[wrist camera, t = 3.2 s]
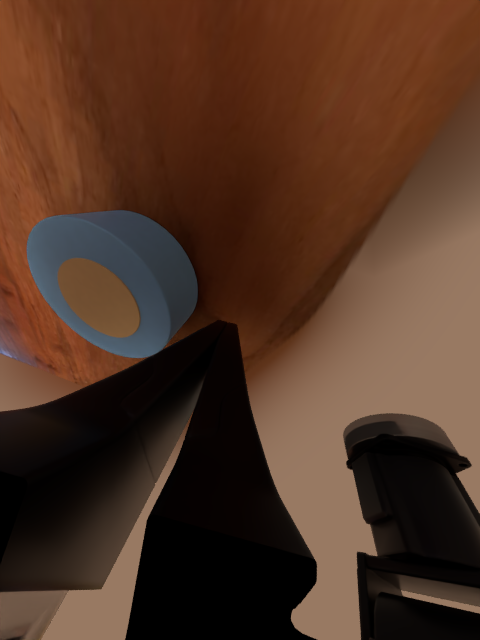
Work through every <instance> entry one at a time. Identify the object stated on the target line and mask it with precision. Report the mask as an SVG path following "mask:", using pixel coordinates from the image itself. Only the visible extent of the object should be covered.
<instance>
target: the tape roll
mask: <svg viewBox="0 0 480 640" xmlns="http://www.w3.org/2000/svg"><path fill="white" fill-rule="evenodd" d="M27 259H28V263H29V267H30V270H31V273H32V276H33V278H34V280H35V283H36V285H37V287H38V288H39V290H40V292H41V294H42V295H43V297H44V298H45V300H46V301H47V302H48V304H49V305H50V306H51V308H52V309H53V310H54V311H55V312H56V314H57V315H58V316H59V317H60V318H61V319H62V320H63V321H64V322H65V323H66V324H67V325H68V326H69V327H71V328H72V329H73V330H74V331H75V332H77V333H78V334H79V335H80V336H82V337H83V338H85V339H86V340H87V341H89V342H91V343H92V344H94V345H96V346H98V347H100V348H102V349H104V350H106V351H108V352H111V353H113V354H116V355H120V356H124V357H130V358H144V357H148V356H151V355H154V354H156V353H158V352H159V351H161V350H162V349H163V348H164V347H165V346H166V345H167V343H168V342H169V341H170V340H171V339H172V337H173V336H174V335H175V334H176V333H177V331H178V330H179V329H180V328H181V327H182V326H183V324H184V323H185V322H186V321H187V320H188V318H189V317H190V316H191V314H192V313H193V311H194V309H195V307H196V303H197V297H198V285H197V279H196V275H195V272H194V269H193V266H192V264H191V262H190V260H189V258H188V256H187V254H186V252H185V251H184V250H183V248H182V247H181V245H180V244H179V243H178V242H177V240H176V239H175V238H174V237H173V236H172V235H171V234H170V233H169V232H168V231H167V230H166V229H165V228H163V227H162V226H161V225H159V224H158V223H156V222H155V221H153V220H151V219H150V218H148V217H146V216H143V215H141V214H139V213H135V212H132V211H125V210H113V211H102V212H91V213H79V214H68V215H57V216H52V217H48V218H45V219H44V220H42V221H40V222H39V223H38V224H37V225H36V226H35V227H33V229H32V231H31V233H30V234H29V238H28V241H27Z"/></svg>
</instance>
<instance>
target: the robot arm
mask: <svg viewBox="0 0 480 640" xmlns="http://www.w3.org/2000/svg"><path fill="white" fill-rule="evenodd" d="M194 408H195V409H194ZM193 410H194V412H193ZM192 412H193V415H192V418H191V421H190V424H189V427H188V430H187V433H186V436H185V440H184V442H183V445H182V448H181V450H180V453H179V456H178V458H177V461H176V463H175V465H174V467H173V469H172V471H171V473H170V475H169V477H168V479H167V481H166V483H165V485H164V487H163V489H162V491H161V493H160V495H159V497H158V499H157V501H156V503H155V505H154V507H153V509H152V511H151V513H150V515H149V517H148V519H147V524H146V529H145V534H144V540H143V546H142V551H141V557H140V562H139V568H138V574H137V579H136V585H135V590H134V596H133V602H132V608H131V613H130V618H129V624H128V629H127V634H126V639H125V640H316V639H314V638H312V637H309V636H307V635H305V634H302V633H301V632H299V631H298V630H297V629H296V628H295V627H294V625H293V623H292V622H291V613H292V610H293V609H295V608H296V607H297V606H298V604H300V603H301V602H302V600H303V599H304V598H305V597H306V595H307V594H308V593H309V591H311V589H312V588H313V586H314V585H315V584H316V580H317V564H316V561H315V559H314V557H313V556H312V554H311V552H310V550H309V548H308V547H307V545H306V543H305V541H304V539H303V538H302V536H301V534H300V532H299V531H298V529H297V527H296V525H295V523H294V522H293V520H292V518H291V516H290V514H289V513H288V511H287V509H286V507H285V506H284V504H283V502H282V500H281V498H280V496H279V494H278V492H277V489H276V487H275V485H274V482H273V479H272V476H271V474H270V470H269V467H268V465H267V461H266V458H265V455H264V451H263V448H262V444H261V441H260V438H259V435H258V432H257V428H256V425H255V421H254V418H253V414H252V410H251V406H250V401H249V396H248V391H247V384H246V379H245V372H244V366H243V359H242V353H241V347H240V340H239V334H238V328H237V325H236V324H233V323H227V322H226V321H222V320H217V321H215V322H213V323H211V324H210V325H208V326H206V327H204V328H202V329H200V330H198V331H197V332H195V333H193V334H191V335H189V336H187V337H186V338H184V339H182V340H180V341H178V342H176V343H174V344H173V345H171V346H169V347H167V348H165V349H163V350H161V351H160V352H158V353H156V354H154V355H153V356H150V357H148V358H146V359H145V360H143V361H141V362H139V363H137V364H135V365H133V366H131V367H129V368H127V369H125V370H123V371H120V372H118V373H116V374H114V375H112V376H110V377H107V378H105V379H103V380H101V381H98V382H96V383H94V384H91V385H89V386H87V387H85V388H82V389H80V390H78V391H75V392H74V393H71V394H69V395H66V396H64V397H62V398H59V399H57V400H54V401H51V402H48V403H46V404H42V405H39V406H35V407H30V408H25V409H18V410H11V411H2V412H0V640H41V639H42V637H43V635H44V633H45V632H46V630H47V628H48V626H49V625H50V623H51V621H52V619H53V617H54V616H55V614H56V612H57V610H58V609H59V607H60V605H61V603H62V601H63V599H64V598H65V596H66V594H67V593H68V591H69V590H94V589H102V587H103V585H104V583H105V581H106V579H107V577H108V575H109V574H110V572H111V570H112V568H113V566H114V564H115V562H116V560H117V558H118V556H119V554H120V552H121V550H122V548H123V546H124V544H125V542H126V540H127V538H128V537H129V535H130V533H131V531H132V529H133V527H134V525H135V523H136V521H137V519H138V517H139V515H140V513H141V511H142V509H143V507H144V505H145V503H146V502H147V500H148V498H149V496H150V494H151V492H152V490H153V488H154V486H155V483H156V482H157V480H158V478H159V476H160V474H161V472H162V470H163V468H164V467H165V465H166V463H167V461H168V459H169V457H170V455H171V453H172V451H173V449H174V447H175V445H176V443H177V441H178V439H179V437H180V435H181V434H182V431H183V430H184V428H185V426H186V424H187V422H188V420H189V418H190V416H191V414H192ZM346 465H347V468H348V469H350V470H353V473H354V478H355V482H356V487H357V491H358V496H359V500H360V505H361V509H362V514H363V518H364V520H365V521H366V523H367V524H370V525H371V529H372V534H373V538H374V542H375V546H376V551H377V555H378V556H371V555H368V554H366V553H363V552H357V566H358V568H357V576H358V592H359V593H358V594H359V611H360V627H361V640H480V614H479V613H474V612H470V611H466V610H461V609H457V608H452V607H447V606H443V605H439V604H435V603H430V602H426V601H421V600H416V599H413V598H408V597H404V596H403V595H402V592H401V590H403V591H408V592H413V593H417V594H422V595H427V596H432V597H436V598H441V599H446V600H451V601H456V602H460V603H464V604H469V605H474V606H479V607H480V514H479V512H478V510H477V509H476V507H475V505H474V503H473V502H472V500H471V498H470V497H469V495H468V493H467V492H466V490H465V488H464V486H463V485H462V483H461V481H460V480H459V478H458V476H457V474H456V473H458V472H461V471H463V470H465V469H468V468H470V467H471V466H472V464H471V463H470V461H469V460H468V458H466V457H464V456H460V455H457V454H454V453H451V452H447V451H444V450H441V449H437V448H434V447H431V446H427V445H424V444H420V443H417V442H414V441H410V440H407V439H404V438H400V437H397V436H394V435H390V434H380V435H378V436H377V437H375V438H374V439H373V440H372V441H371V442H369V443H368V444H367V445H366V446H364V447H363V448H362V449H361V450H360V451H358V452H357V453H356V454H355V455H353V456H352V457H351V458H350V459H348V460H347V461H346Z"/></svg>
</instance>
